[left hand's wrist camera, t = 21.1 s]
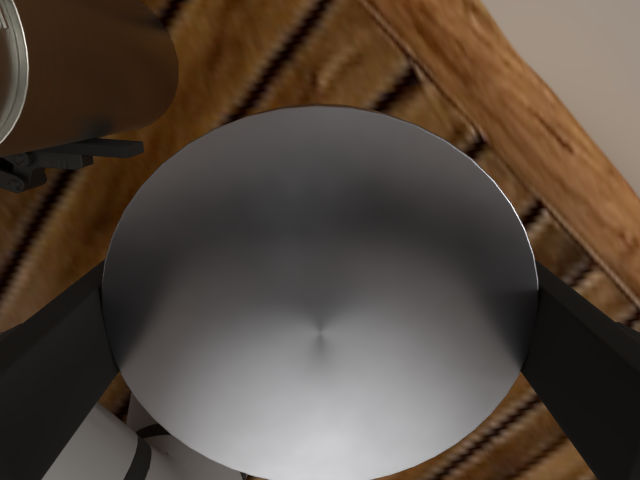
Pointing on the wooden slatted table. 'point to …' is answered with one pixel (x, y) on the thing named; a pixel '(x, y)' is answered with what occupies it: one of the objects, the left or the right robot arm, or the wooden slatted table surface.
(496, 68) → the wooden slatted table surface
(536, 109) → the wooden slatted table surface
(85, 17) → the jar
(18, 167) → the right robot arm
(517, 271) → the lid
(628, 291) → the wooden slatted table surface
